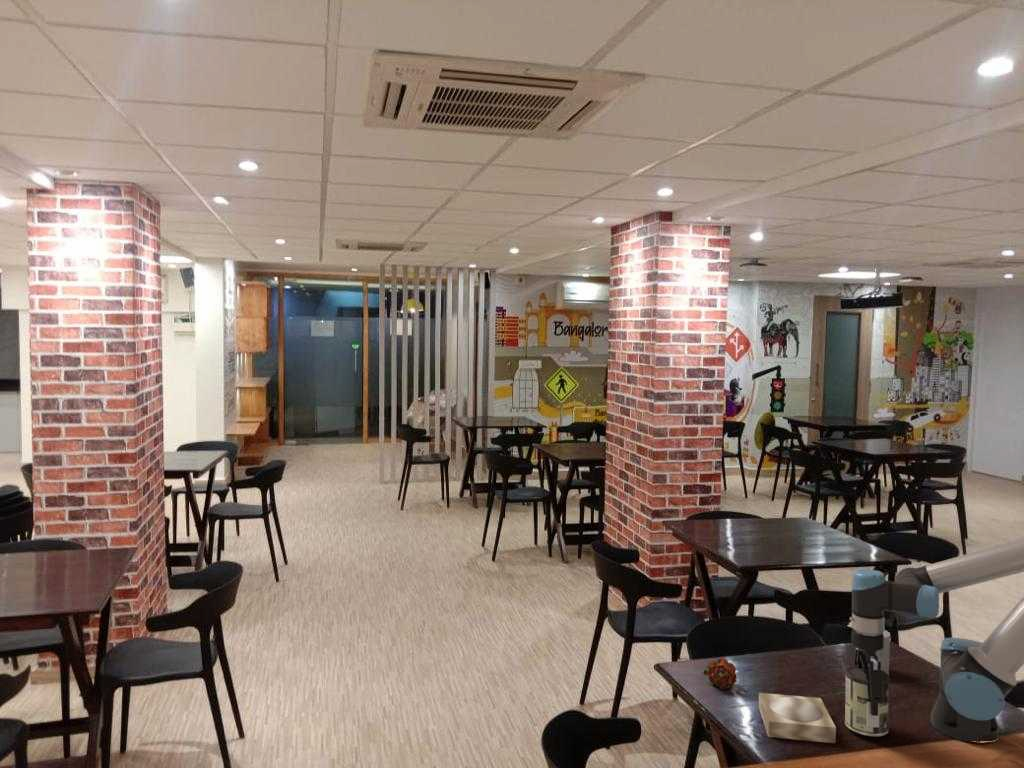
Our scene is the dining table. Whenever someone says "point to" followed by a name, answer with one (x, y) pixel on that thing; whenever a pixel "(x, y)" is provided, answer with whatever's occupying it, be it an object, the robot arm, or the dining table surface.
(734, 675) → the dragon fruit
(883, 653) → the white cylinder
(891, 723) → the dining table surface
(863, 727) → the coffee can
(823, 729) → the stand
